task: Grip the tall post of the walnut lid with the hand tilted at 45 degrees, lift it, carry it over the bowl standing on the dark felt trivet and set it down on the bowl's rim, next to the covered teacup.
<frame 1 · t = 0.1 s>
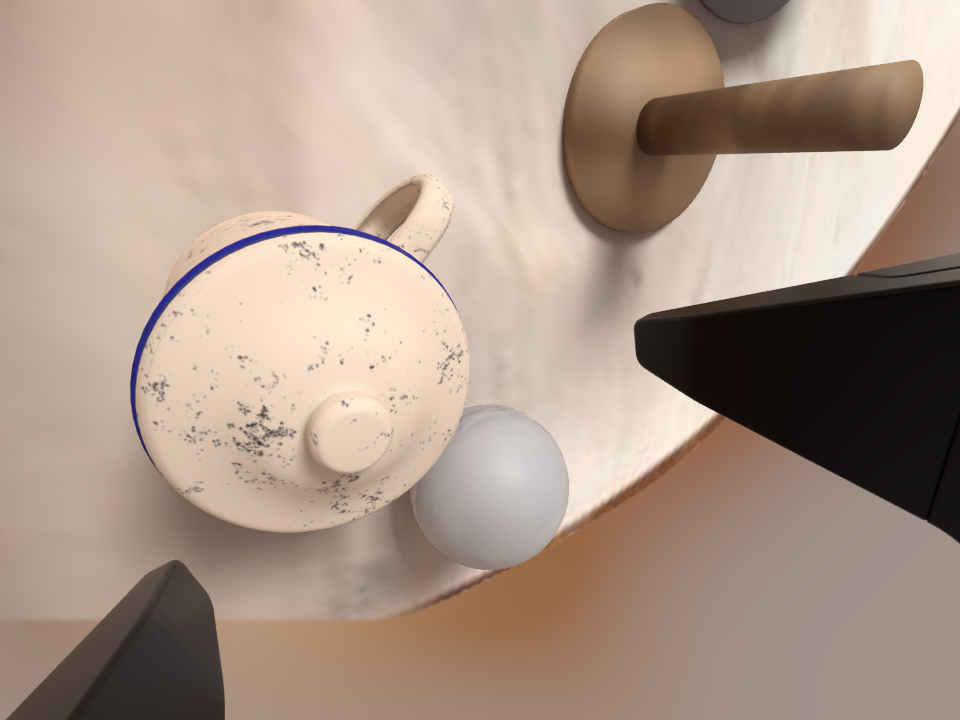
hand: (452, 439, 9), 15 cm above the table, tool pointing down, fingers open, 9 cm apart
lid: (641, 128, 27), on the table
teacup with lid: (303, 287, 21), on the table
bath bomb: (452, 444, 28), on the table
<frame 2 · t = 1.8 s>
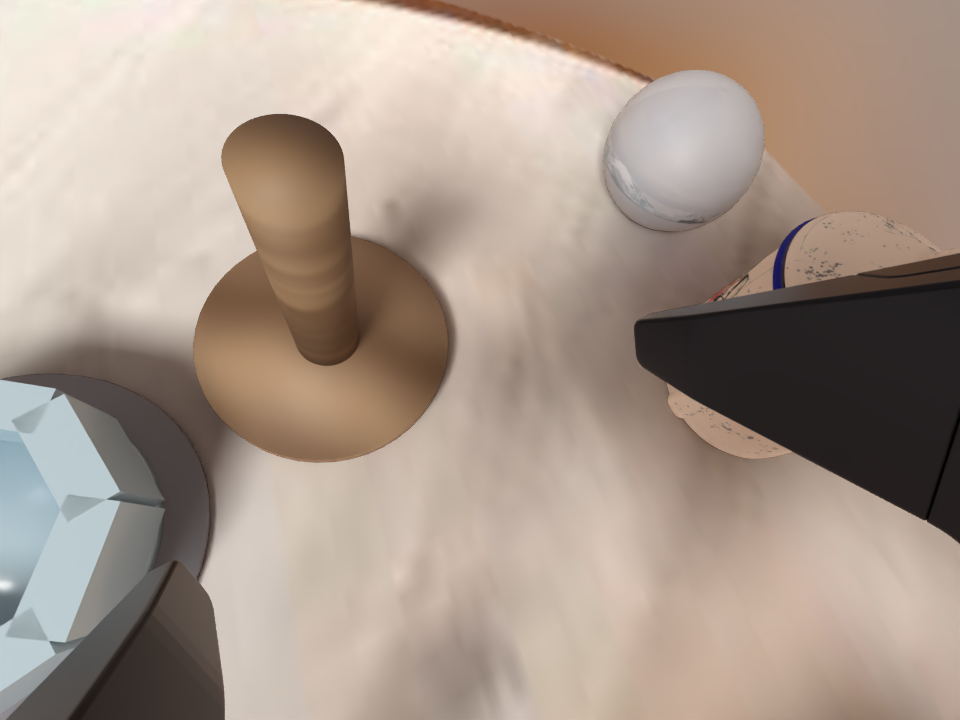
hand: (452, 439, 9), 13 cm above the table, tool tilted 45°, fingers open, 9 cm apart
lid: (329, 345, 23), on the table
teacup with lid: (710, 391, 26), on the table
bath bomb: (640, 205, 30), on the table
trivet: (14, 545, 18), on the table
bowl: (6, 545, 17), resting on trivet
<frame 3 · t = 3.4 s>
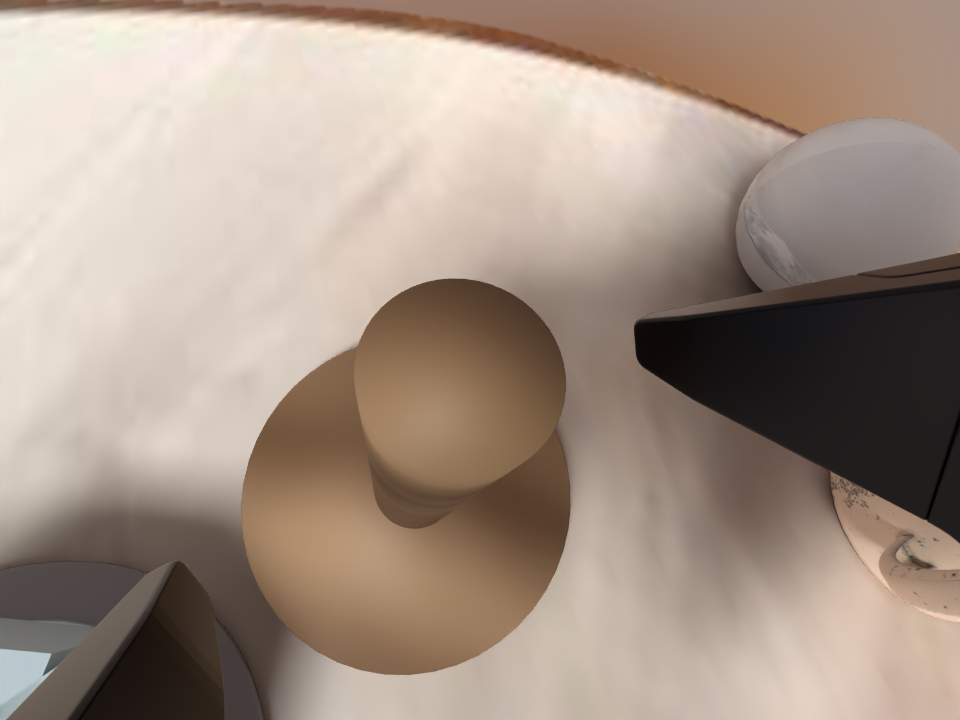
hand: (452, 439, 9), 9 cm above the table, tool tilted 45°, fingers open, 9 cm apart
lid: (414, 488, 17), on the table
teacup with lid: (889, 522, 20), on the table
bath bomb: (769, 274, 24), on the table
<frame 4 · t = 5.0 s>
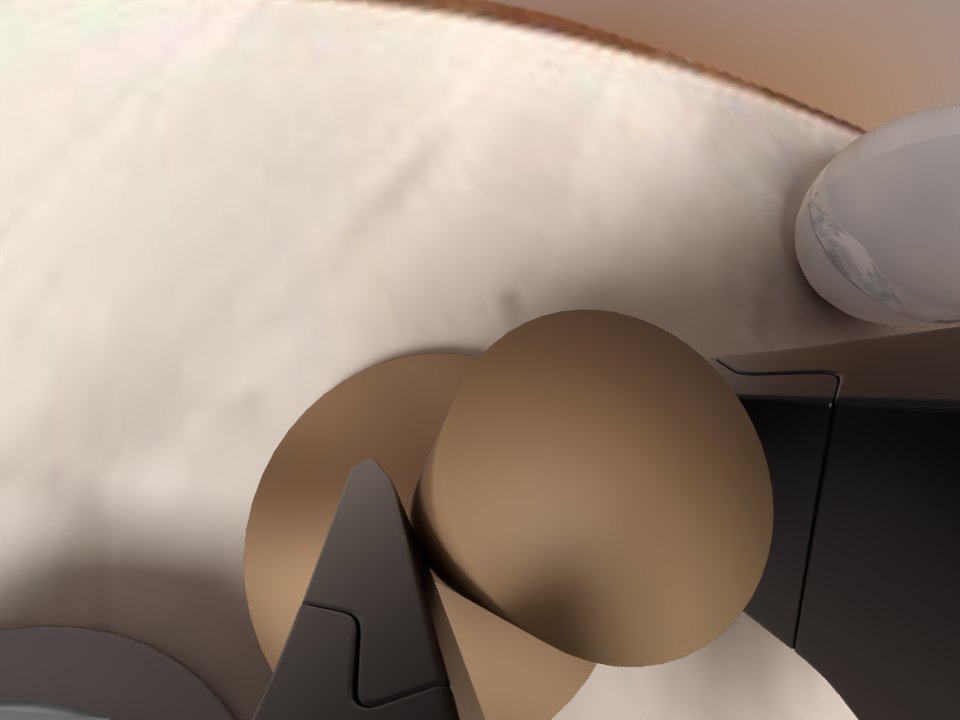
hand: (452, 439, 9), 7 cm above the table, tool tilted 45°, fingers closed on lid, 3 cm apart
lid: (444, 529, 15), on the table, touching gripper
bath bomb: (827, 280, 22), on the table
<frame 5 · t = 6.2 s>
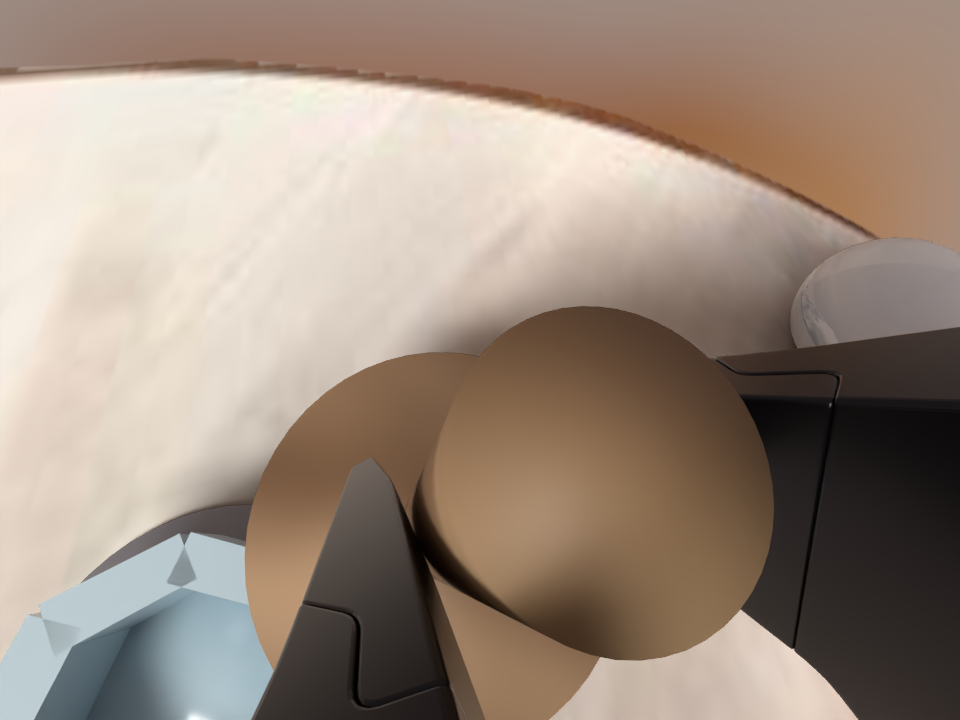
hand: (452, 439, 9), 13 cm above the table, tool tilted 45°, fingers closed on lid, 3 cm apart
lid: (445, 528, 15), point 6 cm above the table, touching gripper
bath bomb: (815, 348, 29), on the table
trivet: (222, 692, 17), on the table
bowl: (218, 695, 17), resting on trivet
when the fingers open (13 cm above the table, at t = 7.4 s): lid drops 1 cm, resting on bowl.
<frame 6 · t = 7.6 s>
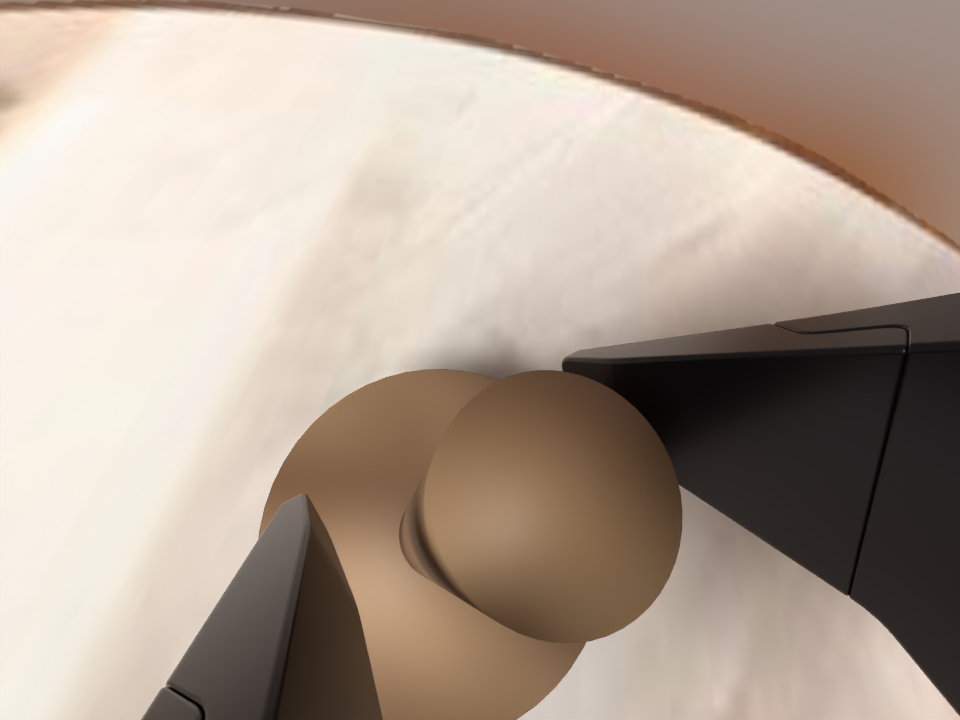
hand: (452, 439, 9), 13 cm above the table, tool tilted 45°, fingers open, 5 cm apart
lid: (440, 533, 16), point 5 cm above the table, touching bowl
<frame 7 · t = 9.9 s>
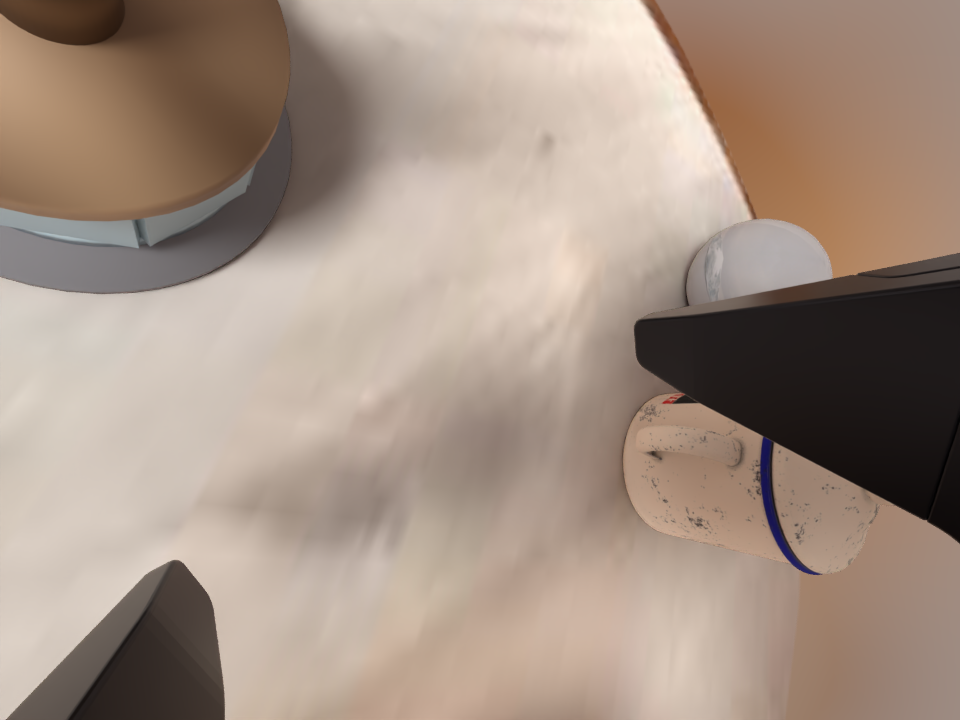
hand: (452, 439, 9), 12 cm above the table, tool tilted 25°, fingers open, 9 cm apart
lid: (63, 17, 13), point 5 cm above the table, touching bowl
teacup with lid: (649, 456, 30), on the table
bath bomb: (695, 297, 34), on the table
trivet: (90, 108, 17), on the table
bowl: (89, 102, 16), resting on trivet
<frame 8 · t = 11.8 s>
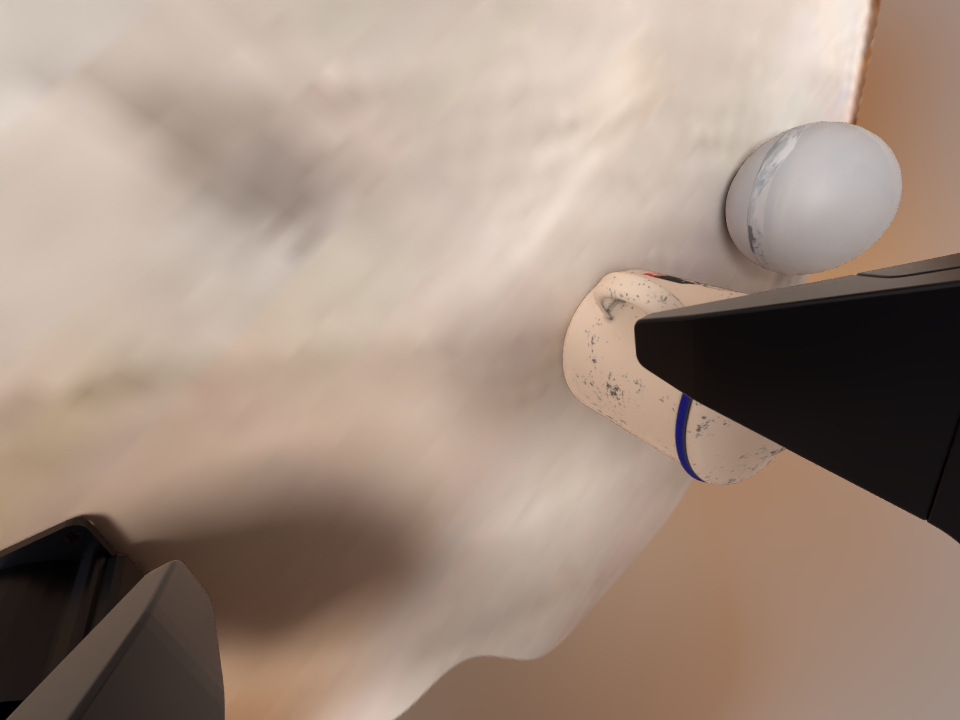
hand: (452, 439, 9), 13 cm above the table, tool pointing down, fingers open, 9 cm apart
teacup with lid: (602, 325, 28), on the table
bath bomb: (736, 197, 30), on the table
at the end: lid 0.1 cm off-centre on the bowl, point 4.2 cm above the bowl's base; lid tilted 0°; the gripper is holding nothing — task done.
